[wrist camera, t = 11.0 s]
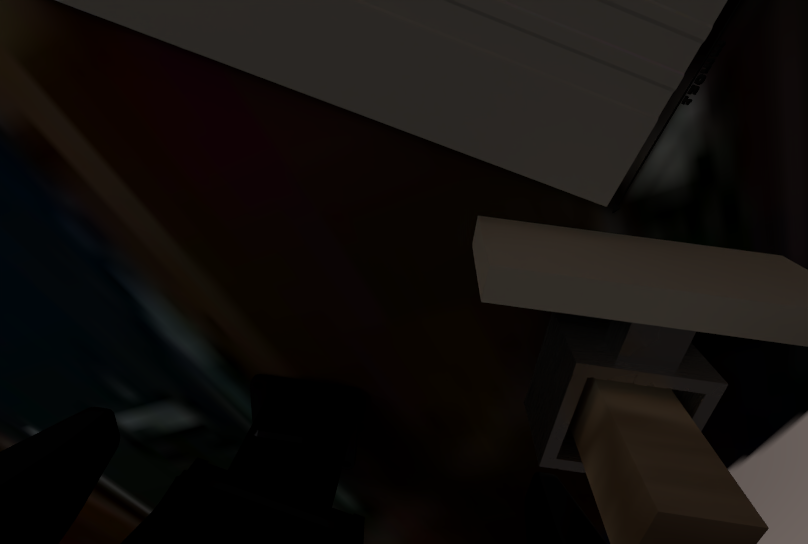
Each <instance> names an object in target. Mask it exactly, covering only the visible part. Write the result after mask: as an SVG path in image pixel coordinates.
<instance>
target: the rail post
mask: <svg viewBox="0 0 808 544" xmlns="http://www.w3.org/2000/svg"><path fill="white" fill-rule="evenodd" d="M569 426H570V429H571V432H572V434H573V437H574V440H575V443H576V446H577V449H578V452H579V455H580V457H581V460H582V463H583V466H584V469H585V472H586V475H587V477H588V480H589V483H590V486H591V489H592V492H593V495H594V498H595V500H596V503H597V506H598V509H599V512H600V515H601V518H602V520H603V523H604V526H605V529H606V532H607V535H608V538H609V540H610V543H611V544H757V542H758V541H759V540H760V538H761V537H762V536H763V535H764V534H765V532H766V531H767V530H768V526H767V525H766V524H765V522H764V521H763V520H762V518H761V516H760V515H759V514H758V512H757V511H756V509H755V508H754V507H753V505H752V504H751V502H750V501H749V499H748V498H747V497H746V495H745V494H744V492H743V491H742V490H741V488H740V487H739V485H738V484H737V482H736V481H735V479H734V478H733V477H732V475H731V474H730V472H729V471H728V469H727V468H726V467H725V465H724V464H723V462H722V461H721V460H720V458H719V457H718V455H717V454H716V452H715V451H714V450H713V448H712V447H711V445H710V444H709V442H708V441H707V440H706V438H705V437H704V435H703V434H702V433H701V431H700V430H699V428H698V427H697V425H696V424H695V423H694V421H693V420H692V418H691V417H690V415H689V414H688V413H687V411H686V410H685V408H684V407H683V405H682V404H681V403H680V401H679V400H678V398H677V397H676V396H675V394H674V393H673V391H672V390H671V389H667V388H659V387H652V386H645V385H638V384H631V383H624V382H617V381H610V380H603V379H596V378H589V377H587V380H586V382H585V385H584V388H583V390H582V393H581V395H580V398H579V401H578V403H577V406H576V408H575V411H574V414H573V416H572V419H571V421H570V424H569Z"/></svg>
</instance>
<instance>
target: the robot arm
mask: <svg viewBox="0 0 808 544" xmlns="http://www.w3.org/2000/svg"><path fill="white" fill-rule="evenodd" d="M258 382H259V383H261V384H259V383H258ZM250 392H251V407H252V422H253V424H252V426H251V428H250V430H249V431H248V433H247V435H246V437H245V439H244V441H243V443H242V445H241V446H240V448H239V450H238V452H237V454H236V456H235V458H234V460H233V461H232V463H231V465H230V467H229V469H228V470H225V469H222V468H220V467H217V466H214V465H211V464H208V461H206V460H203V459H201V458H198V457H197V459H196V460H195V461H194V462H193V464H192V465H191V466H190V468H189V469H188V470H184V471H183V472H182V474H181V475H180V476H177V477H176V478H175V480H174V481H173V483H172V484H171V486H170V488H169V489H168V491H167V492H166V494H165V495H164V497H163V498H162V500H161V501H160V502H159V504H158V505H157V506H156V507H155V509H154V510H153V511H152V512H151V513H150V514H149V515H148V516H147V517H146V518H145V519H144V520H143V521H142V522H141V523H140V524H139V525H138V527H137V528H136V529H135V530H134V531H133V532H132V533H131V534H130V535H129V536H128V537H127V538H126V539H125V540H124V541H123V542H122V543H121V544H363V540H364V519H365V518H364V517H363V516H360V515H357V514H354V515H351V514H348V513H346V512H343V511H340V510H337V509H334V508H332V505H333V501H334V498H335V494H336V490H337V486H338V482H339V478H340V474H341V470H342V469H346V470H350V469H352V468H353V467H354V465H355V460H356V449H357V437H358V425H359V413H360V401H361V393H360V391H359V390H357V389H356V388H352V387H345V386H338V385H331V384H324V383H317V382H310V381H303V380H296V379H289V378H282V377H275V376H268V375H261V374H257V375H255V376H254V377H253V379H252V380H251V382H250ZM350 396H354V397H353V398H352V397H350ZM119 441H120V434H119V430H118V426H117V422H116V418H115V415H114V412H113V411H112V410H111V409H107V408H100V407H90V408H87V409H85V410H83V411H81V412H79V413H77V414H75V415H73V416H71V417H69V418H67V419H65V420H63V421H61V422H59V423H57V424H55V425H53V426H51V427H49V428H47V429H45V430H43V431H41V432H39V433H37V434H35V435H33V436H31V437H29V438H27V439H25V440H23V441H21V442H19V443H17V444H15V445H13V446H11V447H9V448H7V449H5V450H3V451H1V452H0V544H59V542H60V541H61V539H62V538H63V536H64V535H65V534H66V532H67V531H68V529H69V528H70V526H71V525H72V523H73V522H74V520H75V519H76V517H77V516H78V514H79V512H80V511H81V509H82V508H83V506H84V504H85V503H86V501H87V499H88V497H89V496H90V494H91V492H92V491H93V489H94V487H95V485H96V484H97V482H98V480H99V479H100V477H101V475H102V473H103V472H104V470H105V468H106V467H107V465H108V463H109V461H110V460H111V458H112V456H113V455H114V453H115V451H116V449H117V447H118V445H119ZM524 508H525V522H526V536H527V544H607V543H606V542H605V540H604V539H603V538H602V536H601V535H600V533H599V532H598V531H597V529H596V528H595V527H594V525H593V524H592V523H591V521H590V520H589V519H588V517H587V516H586V515H585V513H584V512H583V511H582V509H581V508H580V507H579V505H578V504H577V503H576V501H575V500H574V499H573V497H572V496H571V495H570V493H569V492H568V491H567V489H566V488H565V487H564V485H563V484H562V482H561V481H560V480H559V479H558V477H557V476H555V475H553V474H549V473H542V472H536V473H535V474H534V475H533V478H532V480H531V483H530V486H529V489H528V491H527V494H526V497H525V507H524Z"/></svg>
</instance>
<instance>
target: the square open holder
mask: <svg viewBox="0 0 808 544" xmlns="http://www.w3.org/2000/svg"><path fill="white" fill-rule="evenodd" d="M695 333H696V331H690V330H683V329H676V328H668V327H661V326H654V325H646V324H639V323H632V322H625V321H617V320H610V319H603V318H595V317H588V316H581V315H573V314H566V313H559V312H552V314H551V317H550V320H549V323H548V327H547V330H546V333H545V336H544V339H543V343H542V346H541V349H540V352H539V356H538V359H537V362H536V365H535V369H534V372H533V375H532V378H531V381H530V385H529V388H528V391H527V394H526V398H525V401H524V405H525V409H526V413H527V417H528V422H529V426H530V430H531V434H532V438H533V443H534V447H535V451H536V455H537V460H538V464H539V466H541V467H548V468H554V469H561V470H568V471H575V472H582V473H586V472H585V469H584V466H583V463H582V460H581V457H580V455H579V452H578V449H577V446H576V443H575V440H574V437H573V434H572V432H571V429H570V426H569V424H570V421H571V419H572V416H573V414H574V411H575V408H576V406H577V403H578V401H579V398H580V395H581V393H582V390H583V388H584V385H585V382H586V380H587V377H589V378H596V379H603V380H610V381H617V382H624V383H631V384H638V385H645V386H652V387H659V388H667V389H671V390H672V391H673V393H674V394H675V396H676V397H677V398H678V400H679V401H680V403H681V404H682V405H683V407H684V408H685V410H686V411H687V413H688V414H689V415H690V417H691V418H692V420H693V421H694V423H695V424H696V425H697V427H698V428H699V430H700V431H702V429H703V428H704V426H705V424H706V422H707V421H708V419H709V417H710V415H711V414H712V412H713V410H714V409H715V407H716V405H717V403H718V402H719V400H720V398H721V396H722V395H723V393H724V391H725V390H726V388H727V386H728V383H727V382H726V381H725V380H724V379H723V378H722V377H721V375H720V374H719V373H718V372H717V371H716V370H715V369H714V368H713V366H712V365H711V364H710V363H709V362H708V361H707V360H706V359H705V357H704V356H703V355H702V354H701V353H700V352H699V351H698V350H697V349H696V347H695V346H694V345H693V344H692V343H691V341H692V339H693V337H694V335H695Z"/></svg>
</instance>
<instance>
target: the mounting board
mask: <svg viewBox="0 0 808 544" xmlns="http://www.w3.org/2000/svg"><path fill="white" fill-rule="evenodd" d="M472 247H473V253H474V260H475V266H476V272H477V279H478V285H479V291H480V298H481V302H486V303H493V304H501V305H508V306H515V307H522V308H530V309H537V310H544V311H552V312H559V313H566V314H573V315H581V316H588V317H595V318H603V319H610V320H617V321H625V322H632V323H639V324H646V325H654V326H661V327H668V328H676V329H683V330H690V331H697V332H705V333H712V334H719V335H727V336H734V337H741V338H749V339H756V340H763V341H770V342H778V343H785V344H792V345H800V346H807V347H808V270H807V269H805V268H803V267H801V266H800V265H798V264H796V263H794V262H792V261H791V260H789V259H787V258H785V257H784V256H781V255H773V254H766V253H758V252H751V251H743V250H735V249H728V248H720V247H713V246H705V245H697V244H690V243H682V242H675V241H667V240H659V239H652V238H644V237H637V236H629V235H621V234H614V233H606V232H598V231H591V230H583V229H576V228H568V227H560V226H553V225H545V224H538V223H530V222H522V221H515V220H507V219H500V218H492V217H484V216H478V218H477V223H476V228H475V233H474V238H473V244H472Z"/></svg>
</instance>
